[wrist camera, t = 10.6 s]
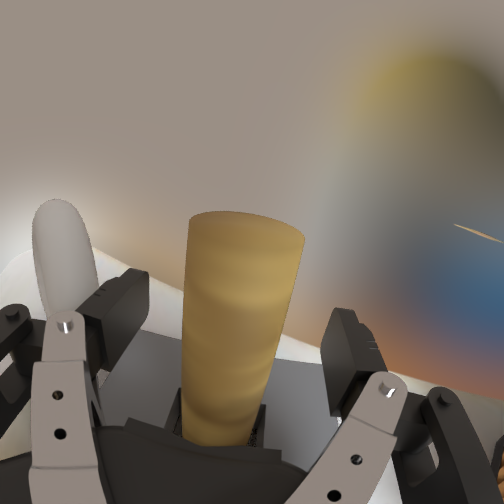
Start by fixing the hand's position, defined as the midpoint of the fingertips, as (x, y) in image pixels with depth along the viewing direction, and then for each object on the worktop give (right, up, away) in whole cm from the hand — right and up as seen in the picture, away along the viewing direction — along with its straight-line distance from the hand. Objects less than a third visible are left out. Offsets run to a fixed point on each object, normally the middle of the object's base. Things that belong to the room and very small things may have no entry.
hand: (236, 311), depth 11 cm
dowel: (-1, -8, +1) cm, 8 cm away
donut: (-13, -4, +7) cm, 15 cm away
